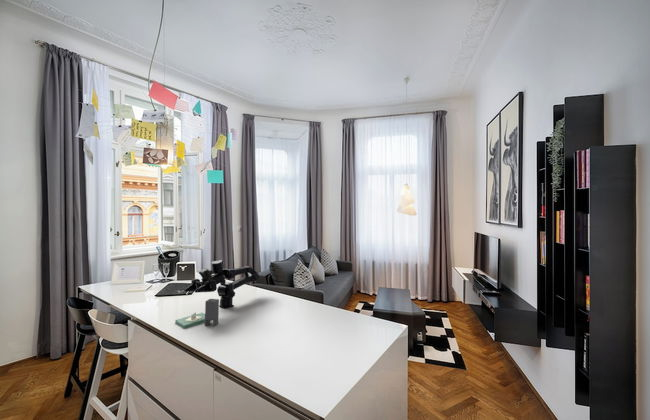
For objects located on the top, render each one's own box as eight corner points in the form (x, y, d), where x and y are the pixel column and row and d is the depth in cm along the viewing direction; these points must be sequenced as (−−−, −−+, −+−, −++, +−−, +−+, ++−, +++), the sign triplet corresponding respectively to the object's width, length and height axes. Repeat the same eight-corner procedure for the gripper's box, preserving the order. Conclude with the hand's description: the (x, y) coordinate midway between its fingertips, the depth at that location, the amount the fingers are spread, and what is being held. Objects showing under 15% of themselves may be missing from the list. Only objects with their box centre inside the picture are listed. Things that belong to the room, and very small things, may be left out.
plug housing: (209, 322, 137) (210, 298, 138) (218, 323, 137) (218, 299, 137) (204, 325, 133) (205, 301, 134) (214, 326, 133) (214, 301, 133)
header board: (201, 315, 147) (202, 308, 147) (211, 319, 141) (211, 312, 141) (175, 323, 136) (175, 315, 136) (184, 328, 130) (184, 320, 130)
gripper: (202, 266, 158) (176, 276, 145) (222, 266, 149) (196, 277, 135) (205, 284, 159) (181, 295, 146) (226, 285, 150) (201, 297, 136)
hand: (189, 291), depth 141 cm, fingers open, 9 cm apart
